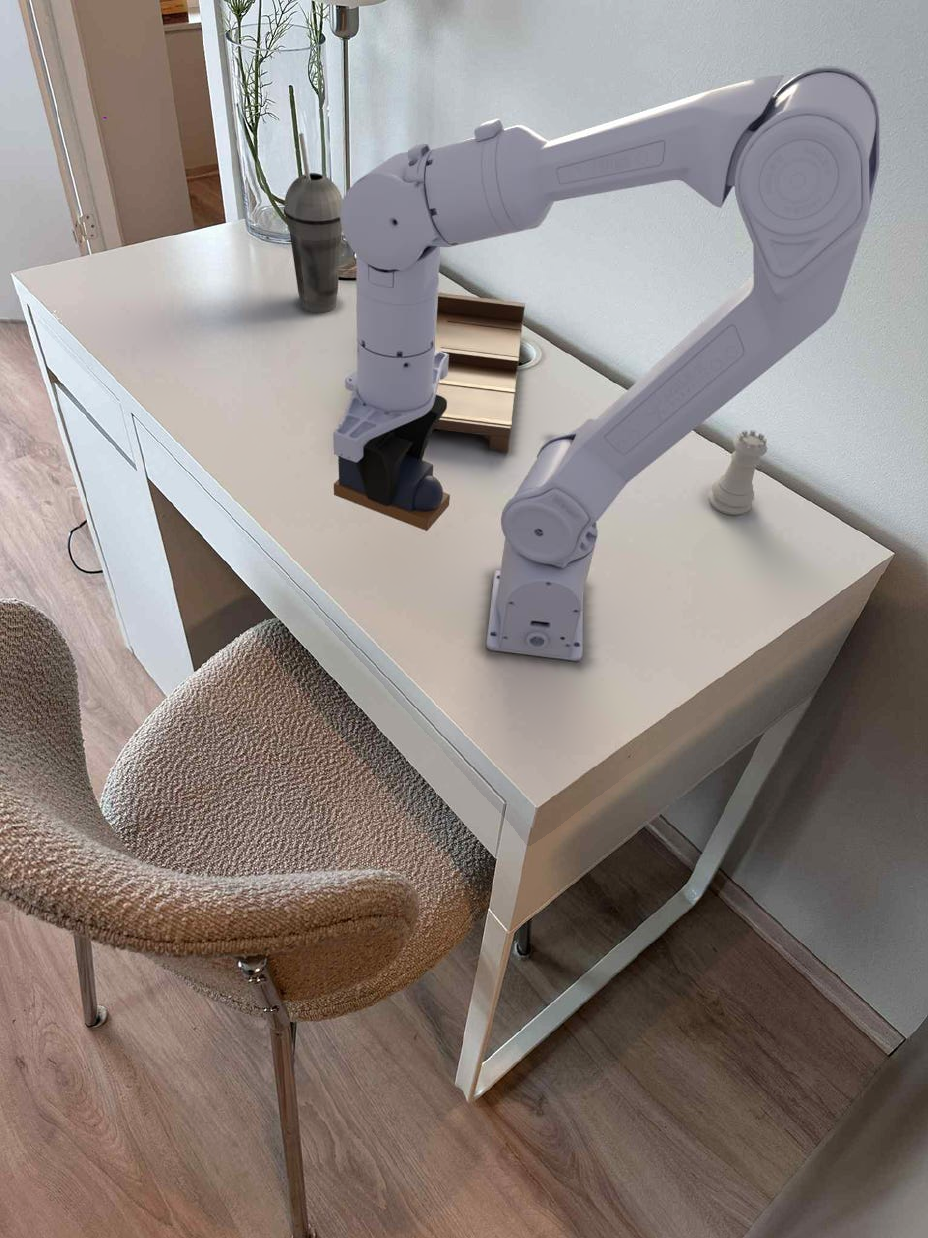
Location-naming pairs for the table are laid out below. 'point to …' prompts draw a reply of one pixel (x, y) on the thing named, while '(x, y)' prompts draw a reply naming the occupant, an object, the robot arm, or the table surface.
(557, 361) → the table surface
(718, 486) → the rook chess piece
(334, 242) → the beverage cup
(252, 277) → the table surface
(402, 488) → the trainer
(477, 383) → the shoe shelf
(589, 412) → the table surface
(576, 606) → the robot arm
